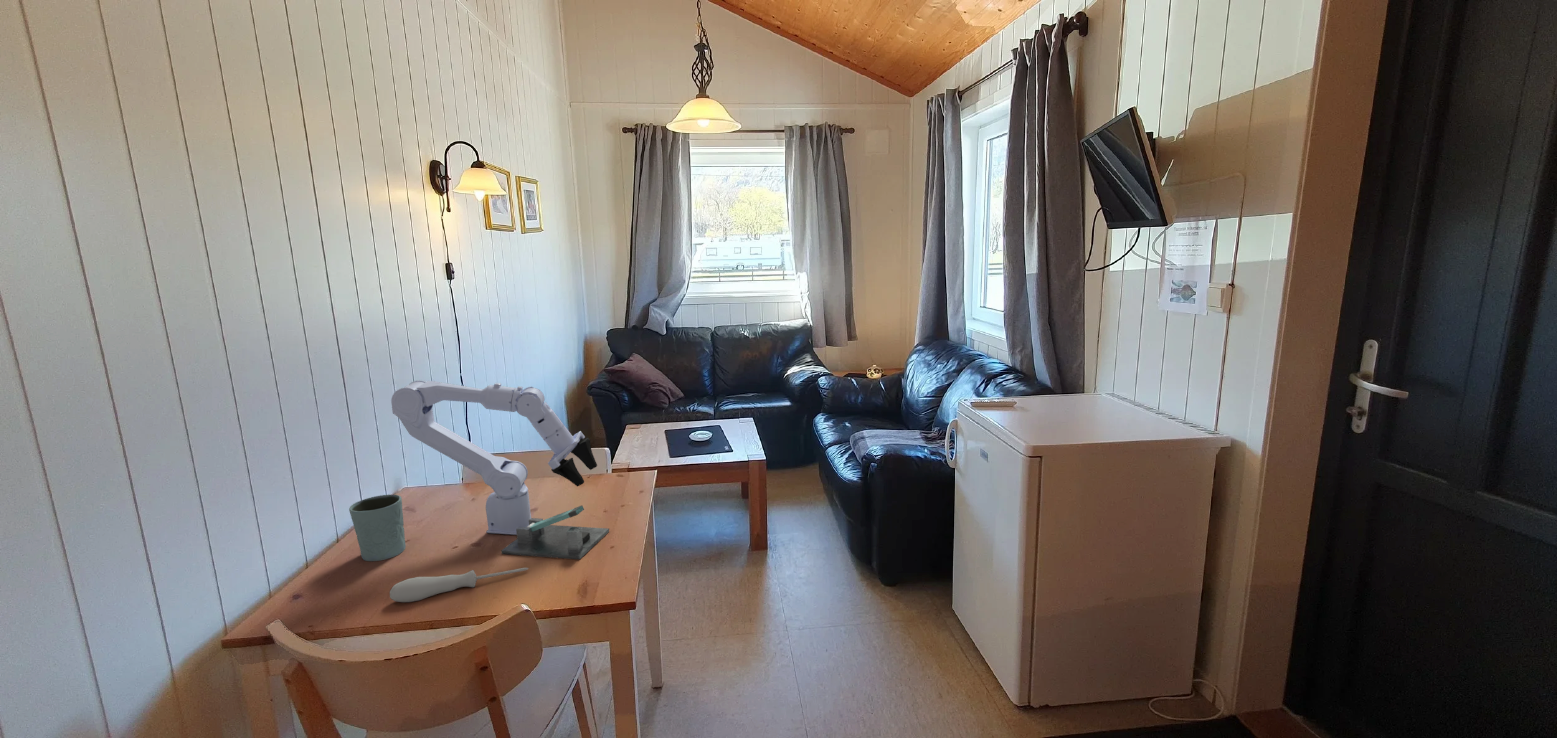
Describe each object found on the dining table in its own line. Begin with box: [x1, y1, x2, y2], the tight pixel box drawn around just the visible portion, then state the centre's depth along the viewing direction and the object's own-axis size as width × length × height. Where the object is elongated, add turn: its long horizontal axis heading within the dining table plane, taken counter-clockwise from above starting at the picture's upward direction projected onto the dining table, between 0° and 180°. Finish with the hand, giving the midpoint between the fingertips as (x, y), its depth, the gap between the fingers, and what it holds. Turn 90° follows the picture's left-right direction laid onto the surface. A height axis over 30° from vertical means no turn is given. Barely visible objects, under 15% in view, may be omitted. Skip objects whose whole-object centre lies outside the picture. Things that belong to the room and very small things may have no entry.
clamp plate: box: [500, 517, 610, 560], centre depth 147 cm, size 19×14×6 cm
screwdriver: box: [389, 567, 530, 603], centre depth 129 cm, size 5×25×4 cm, turn 116°
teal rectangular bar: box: [527, 505, 585, 532], centre depth 146 cm, size 15×3×2 cm, turn 78°
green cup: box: [348, 494, 407, 562], centre depth 144 cm, size 10×10×12 cm
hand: (587, 475), depth 157 cm, fingers open, 7 cm apart
